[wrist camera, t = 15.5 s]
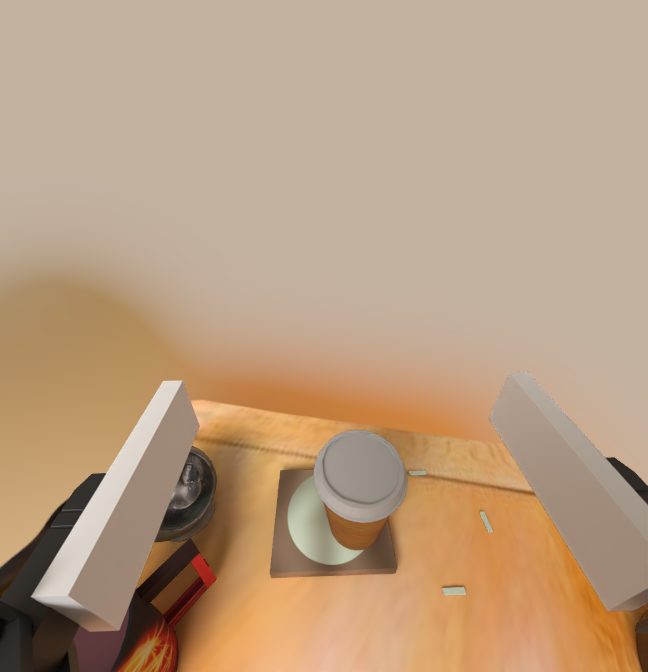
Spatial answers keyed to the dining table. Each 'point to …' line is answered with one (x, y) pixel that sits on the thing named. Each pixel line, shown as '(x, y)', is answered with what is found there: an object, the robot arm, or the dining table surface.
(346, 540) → the disposable coffee cup
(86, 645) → the mug
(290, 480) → the board
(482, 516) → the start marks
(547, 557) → the dining table surface
